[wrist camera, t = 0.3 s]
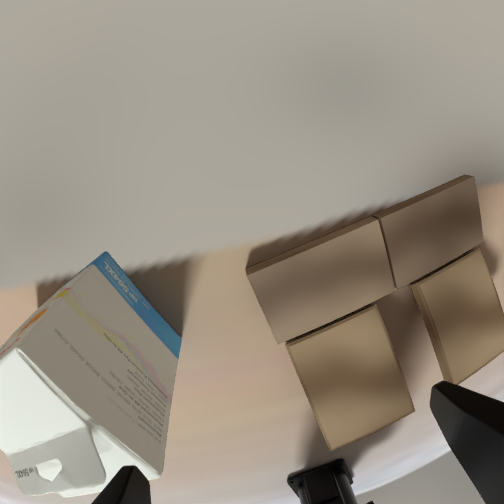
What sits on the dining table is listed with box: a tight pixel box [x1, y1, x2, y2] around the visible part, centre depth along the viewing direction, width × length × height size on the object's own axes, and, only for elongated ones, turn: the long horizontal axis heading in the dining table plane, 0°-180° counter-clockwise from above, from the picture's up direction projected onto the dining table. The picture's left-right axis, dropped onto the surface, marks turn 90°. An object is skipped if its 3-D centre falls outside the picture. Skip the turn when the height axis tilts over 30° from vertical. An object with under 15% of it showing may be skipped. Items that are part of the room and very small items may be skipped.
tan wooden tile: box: [245, 175, 483, 344], centre depth 21 cm, size 6×18×1 cm, turn 112°
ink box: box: [0, 252, 182, 498], centre depth 15 cm, size 9×8×13 cm
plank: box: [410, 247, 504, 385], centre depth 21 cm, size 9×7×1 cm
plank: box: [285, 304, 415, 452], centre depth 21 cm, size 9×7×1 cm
